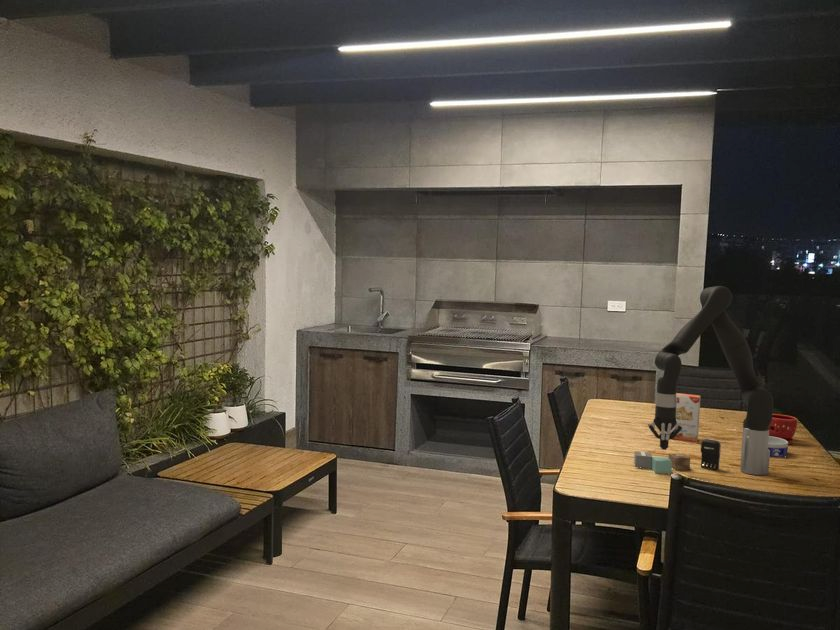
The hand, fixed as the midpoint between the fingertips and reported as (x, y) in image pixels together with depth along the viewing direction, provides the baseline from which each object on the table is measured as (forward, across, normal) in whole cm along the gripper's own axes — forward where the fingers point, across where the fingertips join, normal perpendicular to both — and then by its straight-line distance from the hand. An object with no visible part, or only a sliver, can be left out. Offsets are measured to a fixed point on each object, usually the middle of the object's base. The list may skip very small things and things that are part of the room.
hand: (663, 449), depth 271 cm
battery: (+9, -20, -7) cm, 23 cm away
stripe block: (+9, +6, -6) cm, 12 cm away
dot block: (+9, -8, -6) cm, 13 cm away
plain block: (+9, +1, 0) cm, 9 cm away
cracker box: (+9, -23, -54) cm, 59 cm away
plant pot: (+9, -68, -57) cm, 89 cm away
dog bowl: (+9, -54, -36) cm, 65 cm away
